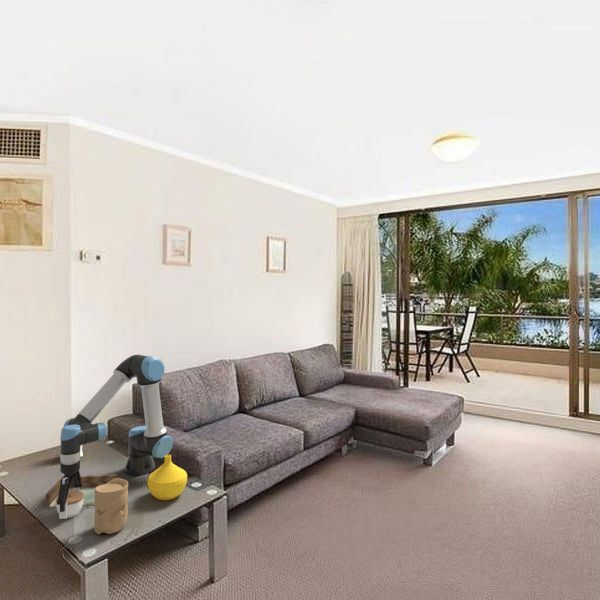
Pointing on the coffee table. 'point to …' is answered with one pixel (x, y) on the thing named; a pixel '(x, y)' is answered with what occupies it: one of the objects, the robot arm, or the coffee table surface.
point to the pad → (88, 495)
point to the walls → (86, 483)
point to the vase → (167, 480)
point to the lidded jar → (73, 503)
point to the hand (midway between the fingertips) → (69, 510)
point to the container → (111, 506)
